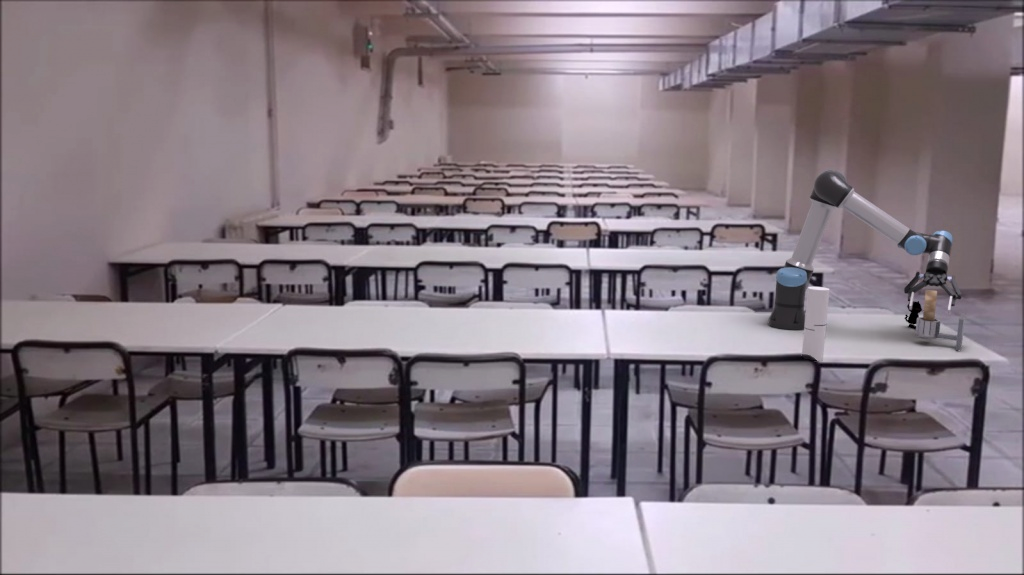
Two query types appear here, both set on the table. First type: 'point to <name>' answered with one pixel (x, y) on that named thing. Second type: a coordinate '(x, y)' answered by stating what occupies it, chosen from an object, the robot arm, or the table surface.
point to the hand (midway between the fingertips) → (929, 309)
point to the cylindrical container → (815, 322)
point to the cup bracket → (933, 330)
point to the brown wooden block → (930, 305)
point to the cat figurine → (913, 314)
